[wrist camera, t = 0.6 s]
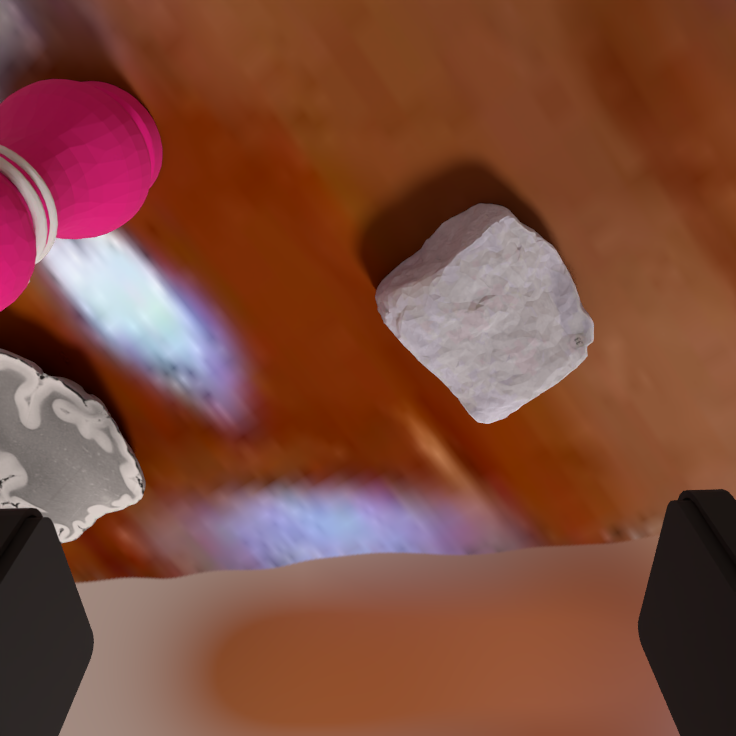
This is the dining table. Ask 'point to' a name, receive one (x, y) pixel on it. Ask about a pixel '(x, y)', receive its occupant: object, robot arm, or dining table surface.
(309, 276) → the dining table surface
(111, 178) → the pepper mill
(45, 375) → the brain slice
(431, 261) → the stone block
